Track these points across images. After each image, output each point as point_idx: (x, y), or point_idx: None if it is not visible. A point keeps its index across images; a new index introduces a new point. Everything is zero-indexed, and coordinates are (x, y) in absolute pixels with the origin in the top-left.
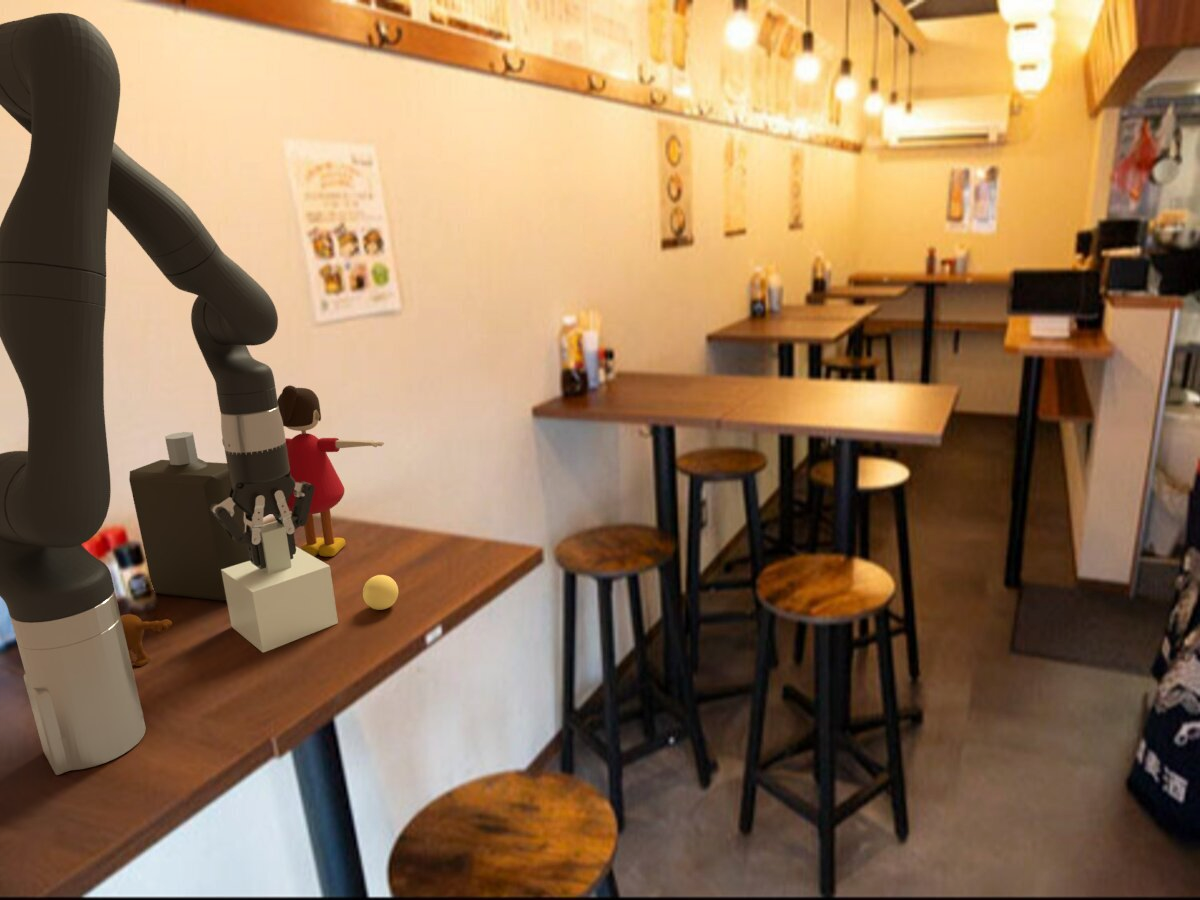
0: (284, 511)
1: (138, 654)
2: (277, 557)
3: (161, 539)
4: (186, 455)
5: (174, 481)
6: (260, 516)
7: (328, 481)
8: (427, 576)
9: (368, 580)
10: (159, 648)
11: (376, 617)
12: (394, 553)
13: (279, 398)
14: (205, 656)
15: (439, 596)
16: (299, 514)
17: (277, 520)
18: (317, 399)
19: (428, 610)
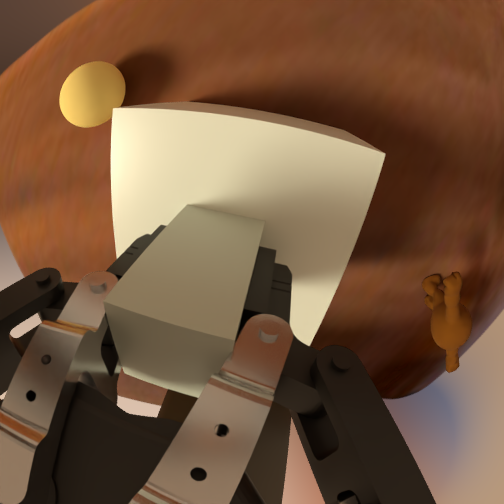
0: (51, 366)
1: (439, 289)
2: (213, 236)
3: (278, 452)
4: None
5: None
6: (200, 442)
7: None
8: (35, 141)
9: (84, 109)
10: (394, 297)
11: (137, 67)
12: (41, 243)
13: None
14: (394, 217)
15: (54, 66)
16: (25, 310)
17: (115, 366)
18: None
19: (85, 34)
